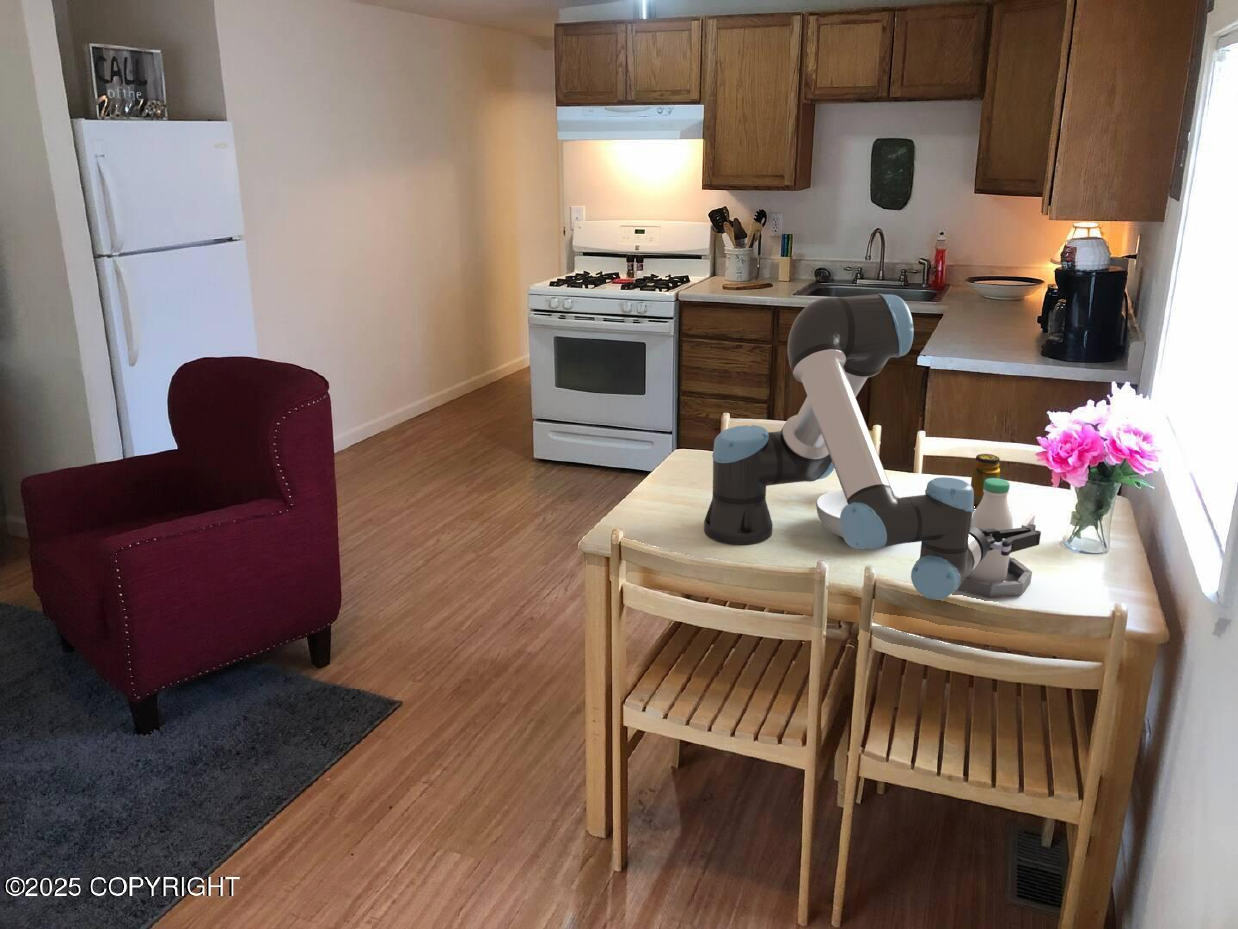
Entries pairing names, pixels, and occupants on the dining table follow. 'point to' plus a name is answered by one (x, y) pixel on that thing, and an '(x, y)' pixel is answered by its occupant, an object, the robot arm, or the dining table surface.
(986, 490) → the milk bottle
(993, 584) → the grey octagonal tray
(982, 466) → the condiment
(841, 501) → the serving bowl
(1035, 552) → the dining table surface
